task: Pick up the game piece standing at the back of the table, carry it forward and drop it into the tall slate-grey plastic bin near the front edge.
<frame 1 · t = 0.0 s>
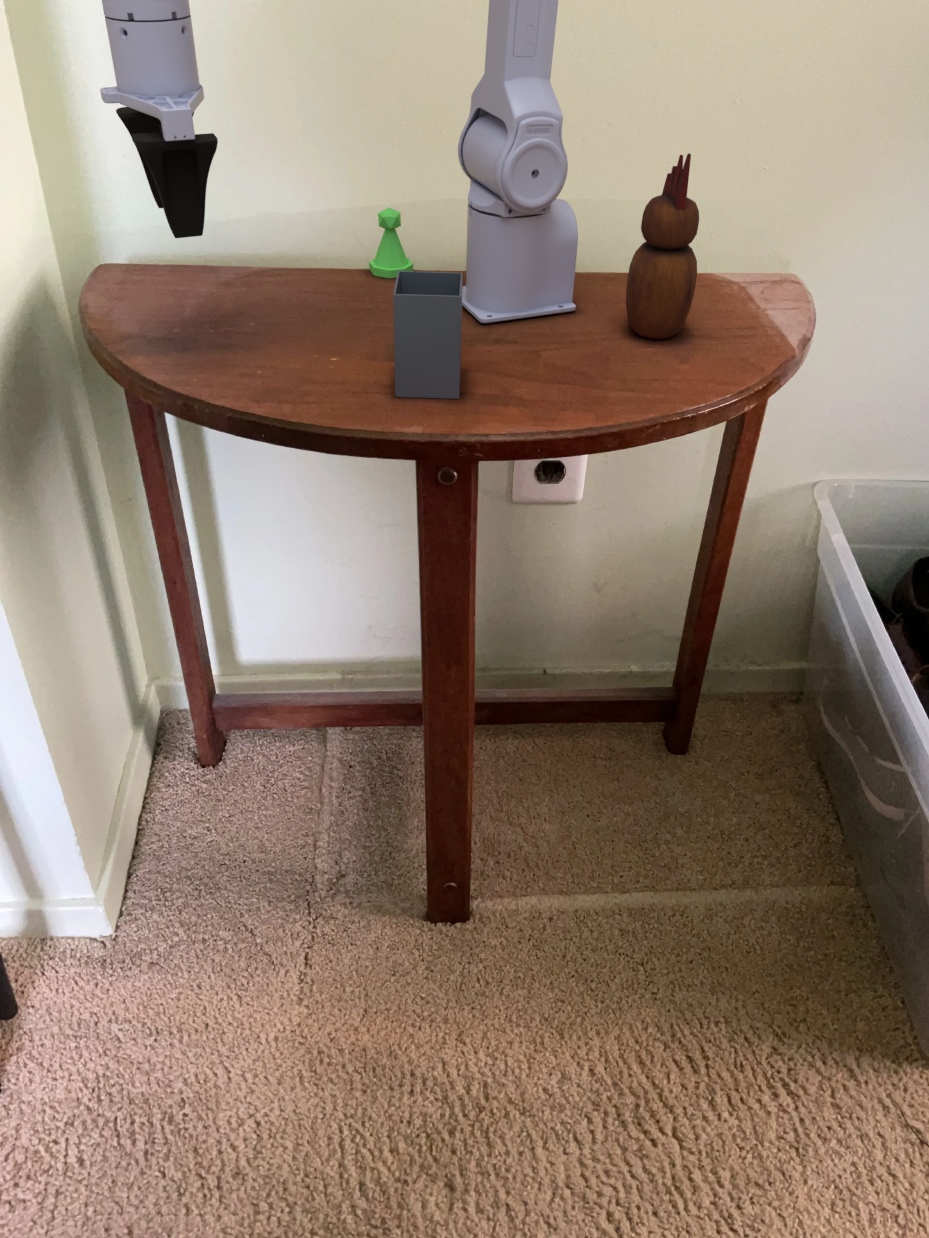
hand: (179, 220, 76), 10 cm above the table, tool pointing down, fingers open, 7 cm apart
wooden figurine: (653, 333, 87), on the table
game piece: (391, 272, 98), on the table
bin: (428, 384, 78), on the table
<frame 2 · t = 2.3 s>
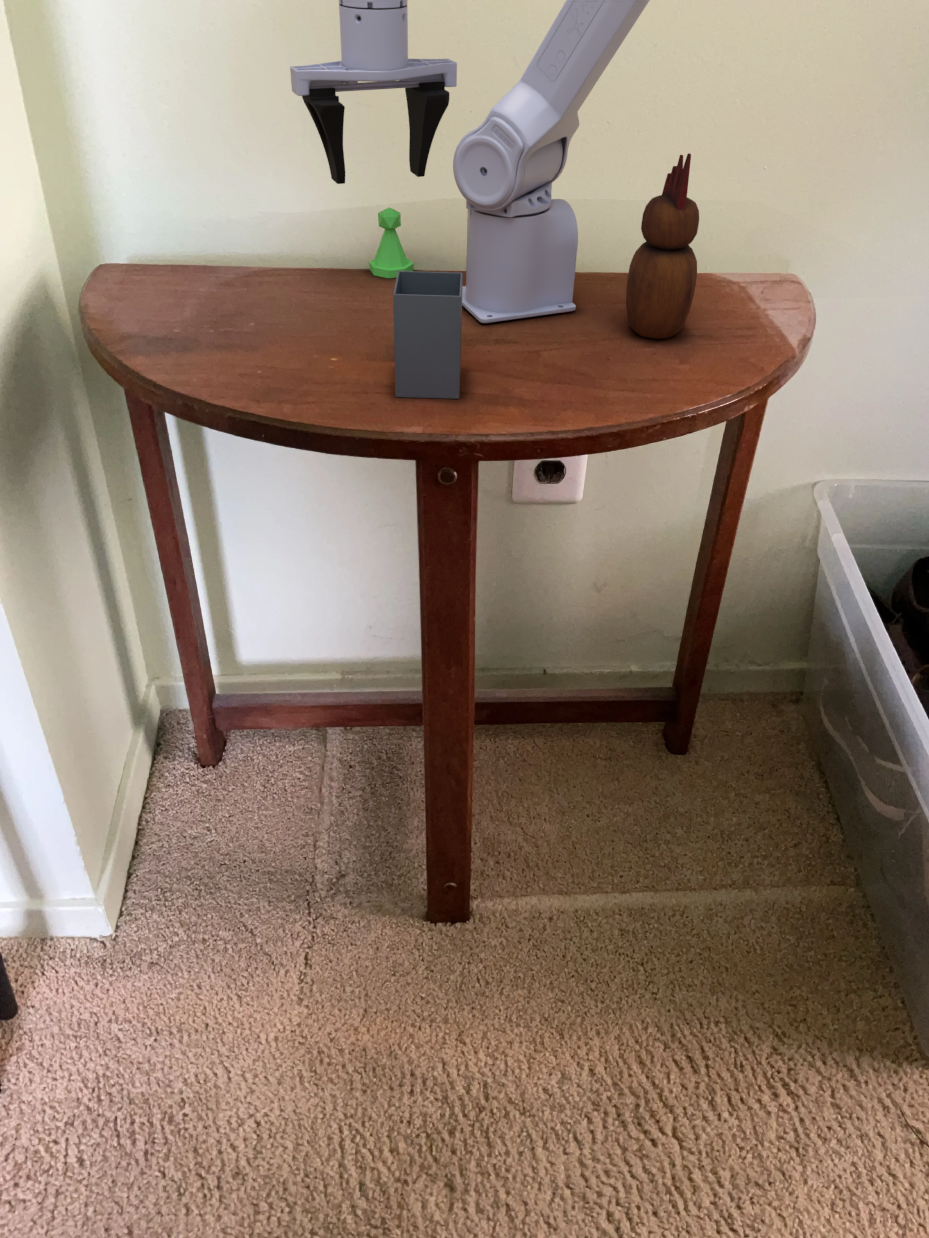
hand: (378, 177, 91), 9 cm above the table, tool pointing down, fingers open, 7 cm apart
nothing on the table moved.
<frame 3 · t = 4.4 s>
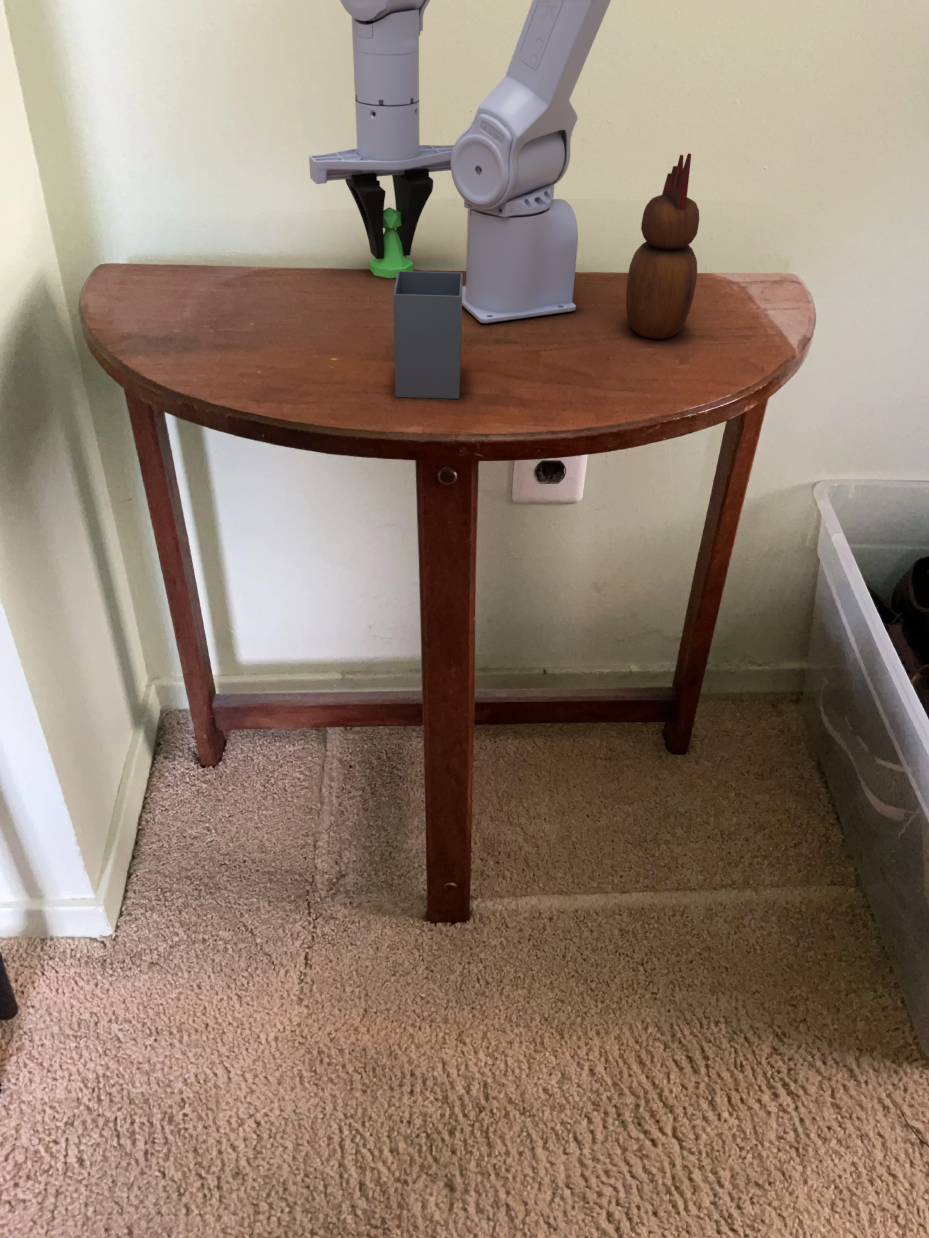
hand: (390, 254, 96), 2 cm above the table, tool pointing down, fingers closed on game piece, 2 cm apart
game piece: (391, 272, 98), on the table, touching gripper
everything else where it was.
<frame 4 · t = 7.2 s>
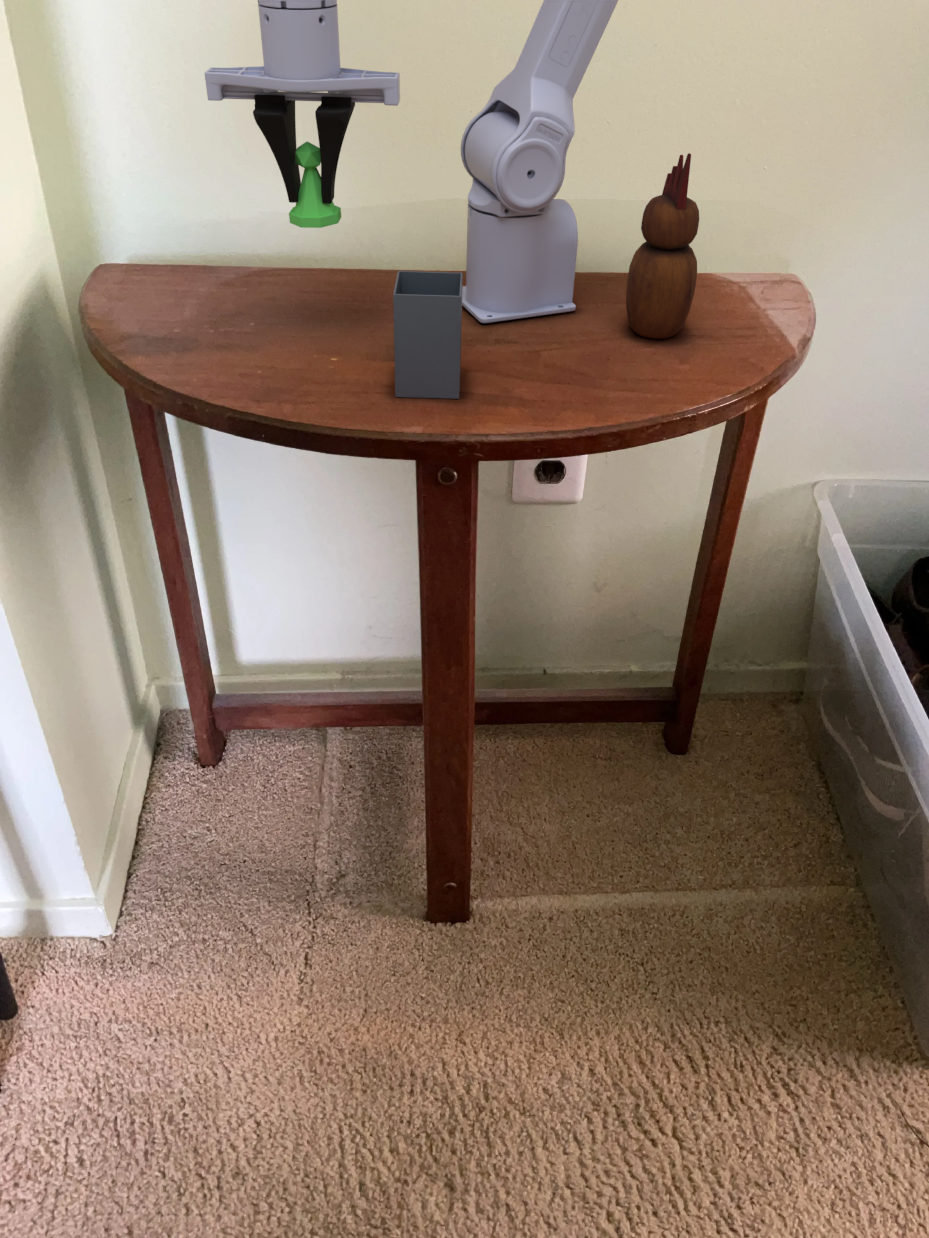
hand: (312, 199, 80), 10 cm above the table, tool pointing down, fingers closed on game piece
game piece: (316, 222, 82), point 9 cm above the table, touching gripper
everything else where it was.
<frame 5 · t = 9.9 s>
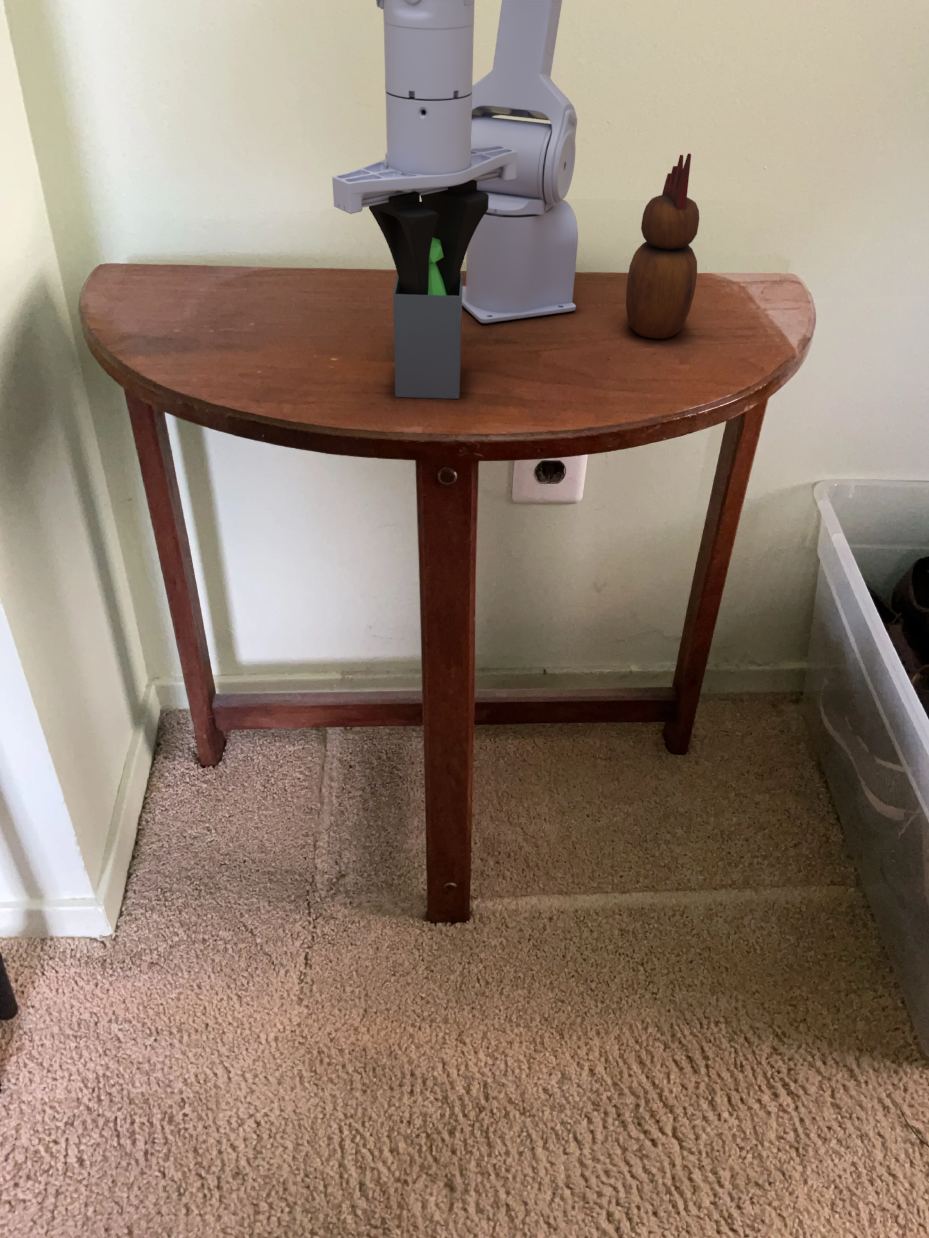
hand: (429, 295, 73), 7 cm above the table, tool pointing down, fingers closed on game piece
game piece: (430, 318, 75), point 5 cm above the table, touching gripper
everything else where it was.
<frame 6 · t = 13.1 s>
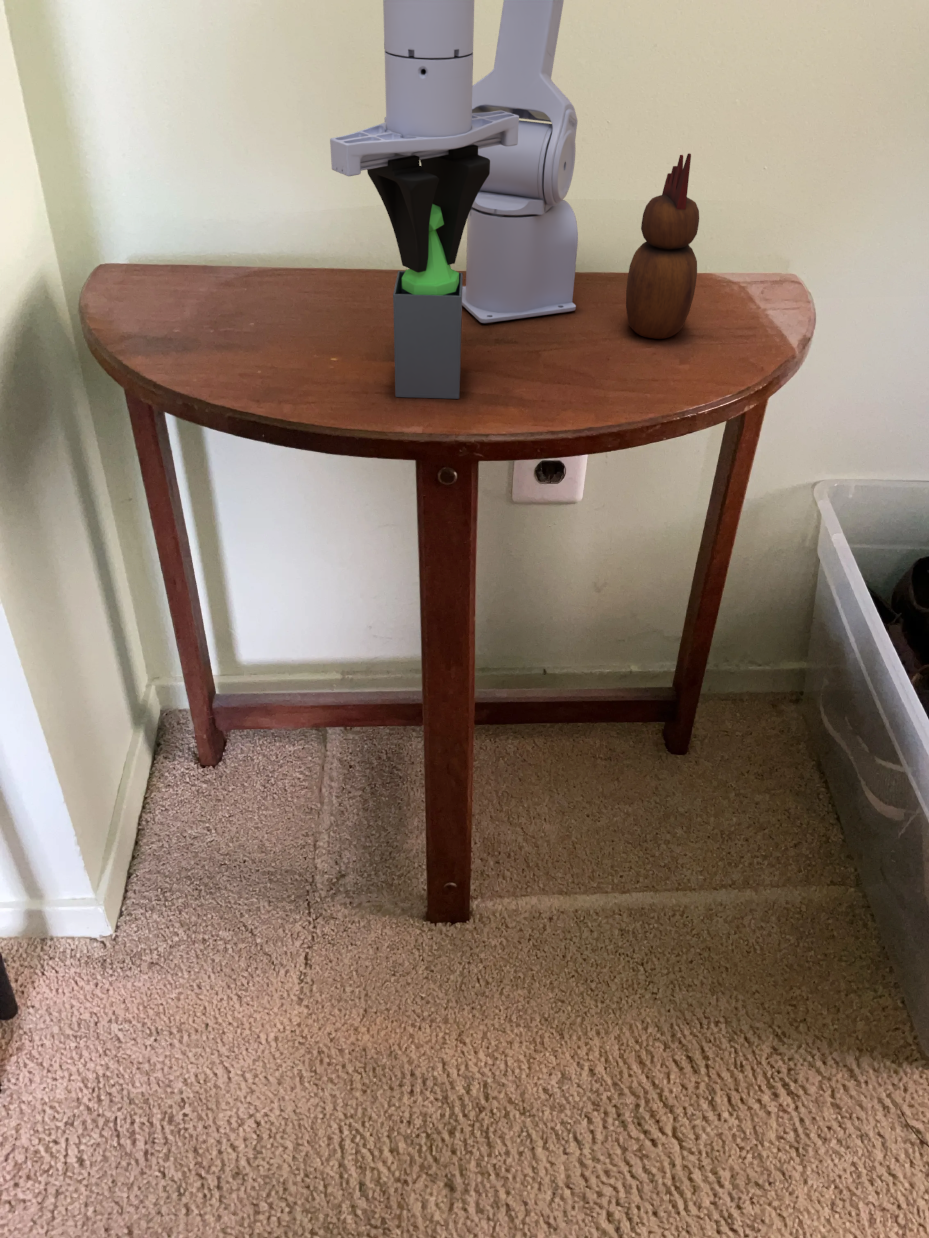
hand: (428, 264, 72), 9 cm above the table, tool pointing down, fingers closed on game piece, 2 cm apart
game piece: (430, 288, 73), point 8 cm above the table, touching gripper
everything else where it was.
when the fingers open (10 cm above the table, at t = 15.9 s): game piece drops 8 cm, resting on bin.
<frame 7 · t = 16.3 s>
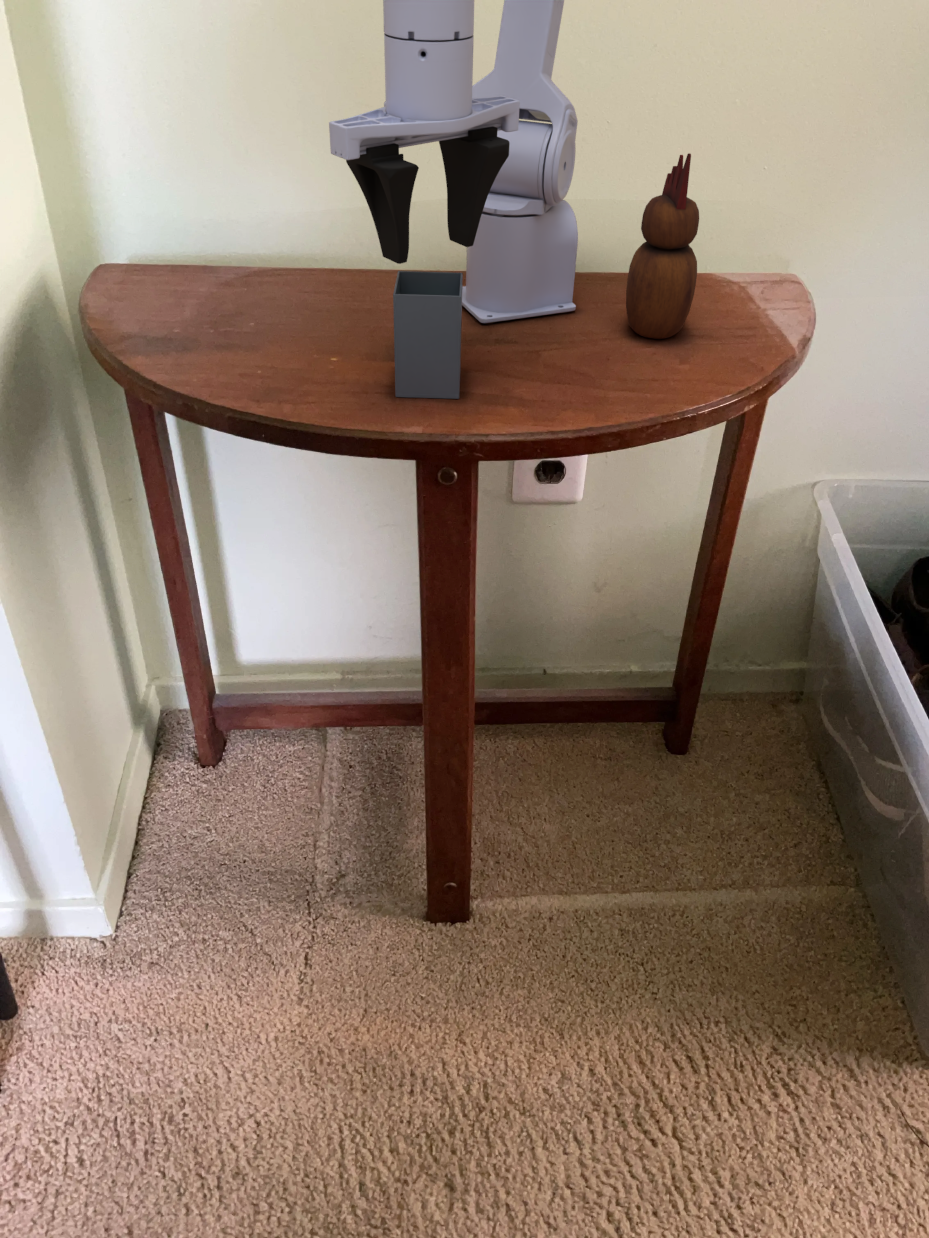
hand: (428, 251, 71), 10 cm above the table, tool pointing down, fingers open, 5 cm apart
game piece: (431, 381, 78), resting on bin
everything else where it was.
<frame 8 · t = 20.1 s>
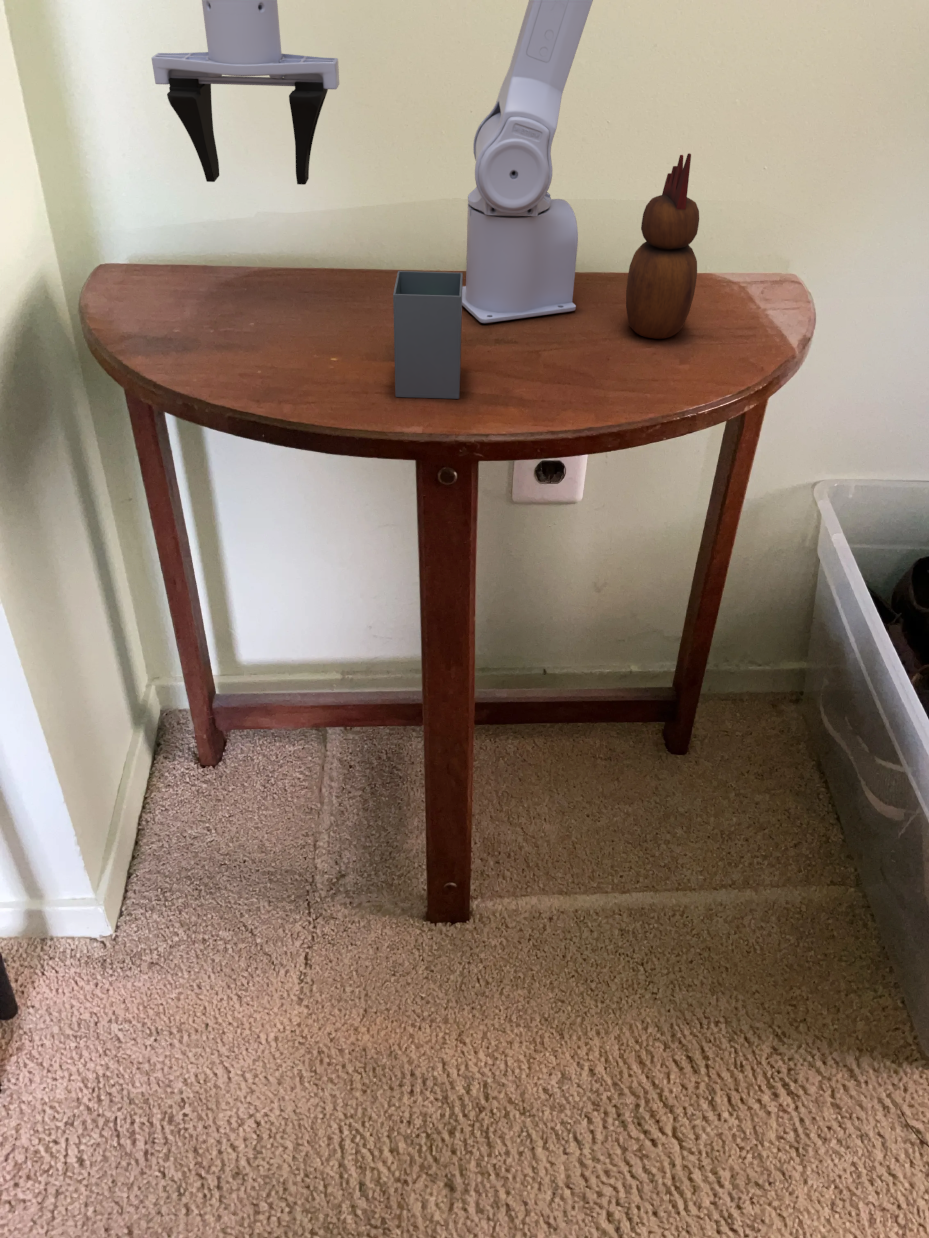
hand: (258, 180, 84), 10 cm above the table, tool pointing down, fingers open, 7 cm apart
nothing on the table moved.
at the end: game piece 0.3 cm off-centre in the bin, point 0.1 cm above the bin's base; the gripper is holding nothing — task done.
